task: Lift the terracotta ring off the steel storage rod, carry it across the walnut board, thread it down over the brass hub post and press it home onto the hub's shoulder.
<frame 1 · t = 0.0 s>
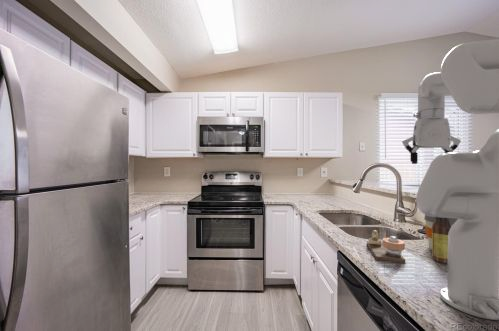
hand: (430, 163, 82), 37 cm above the counter, tool pointing down, fingers open, 9 cm apart
sauce bottle: (442, 261, 87), on the counter
ring: (393, 247, 88), point 4 cm above the counter, touching storage rod
reusable coffee cup: (442, 250, 99), on the counter
board: (384, 253, 94), on the counter
storage rod: (393, 258, 88), resting on board
hub post: (374, 247, 100), resting on board
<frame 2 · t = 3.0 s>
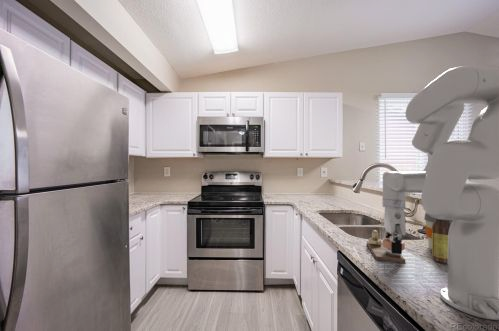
hand: (393, 249, 88), 4 cm above the counter, tool pointing down, fingers closed on ring, 7 cm apart
ring: (393, 247, 88), point 5 cm above the counter, touching gripper, storage rod
everything else where it was.
when the fingers open (3 cm above the counter, at t = 10.5 s): ring stays where it is, resting on hub post.
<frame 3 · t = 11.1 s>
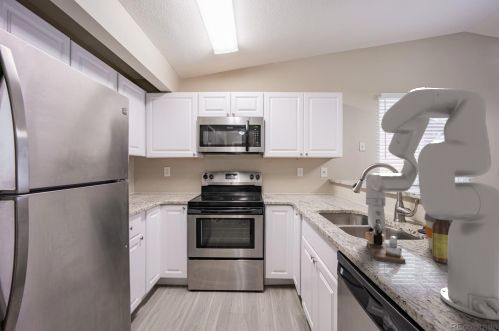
hand: (375, 240, 100), 3 cm above the counter, tool pointing down, fingers open, 9 cm apart
ring: (374, 239, 100), point 3 cm above the counter, touching hub post
everything else where it was.
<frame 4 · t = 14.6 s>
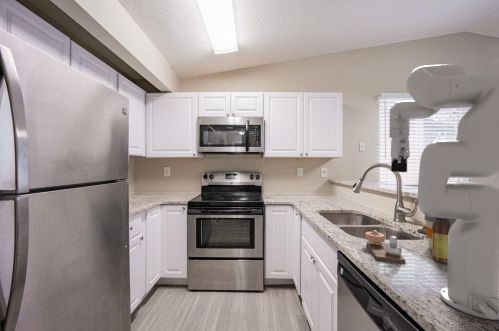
hand: (398, 171, 102), 33 cm above the counter, tool pointing down, fingers open, 9 cm apart
nothing on the counter moved.
at the end: ring 0.1 cm from the hub post (horizontally); ring point 3.5 cm above the counter; the gripper is holding nothing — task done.
